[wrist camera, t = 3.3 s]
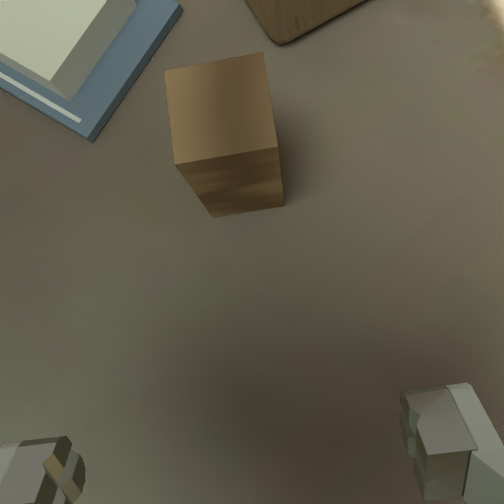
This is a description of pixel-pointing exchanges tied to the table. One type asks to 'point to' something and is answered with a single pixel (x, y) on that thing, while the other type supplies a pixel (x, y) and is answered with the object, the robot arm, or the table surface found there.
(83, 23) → the foundation slab
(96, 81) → the board
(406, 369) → the table surface
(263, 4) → the wooden block
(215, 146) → the walnut pillar
